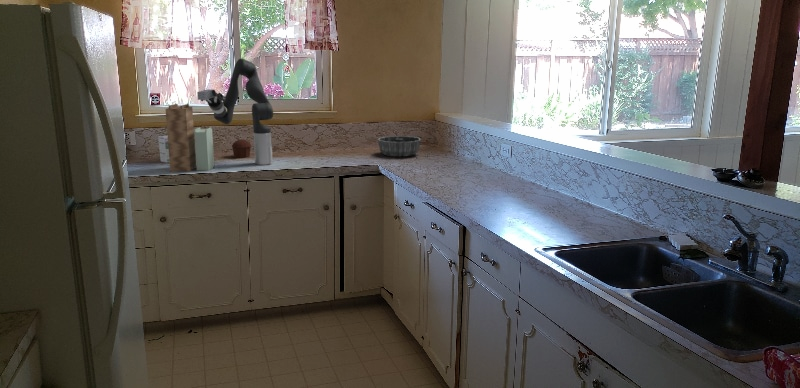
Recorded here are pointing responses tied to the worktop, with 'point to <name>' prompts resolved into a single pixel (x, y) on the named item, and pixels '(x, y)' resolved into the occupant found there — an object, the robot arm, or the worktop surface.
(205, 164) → the pale green tall block
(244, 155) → the muffin
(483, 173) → the worktop surface
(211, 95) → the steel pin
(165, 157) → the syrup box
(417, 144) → the bundt pan
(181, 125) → the jenga block tower
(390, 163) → the worktop surface
